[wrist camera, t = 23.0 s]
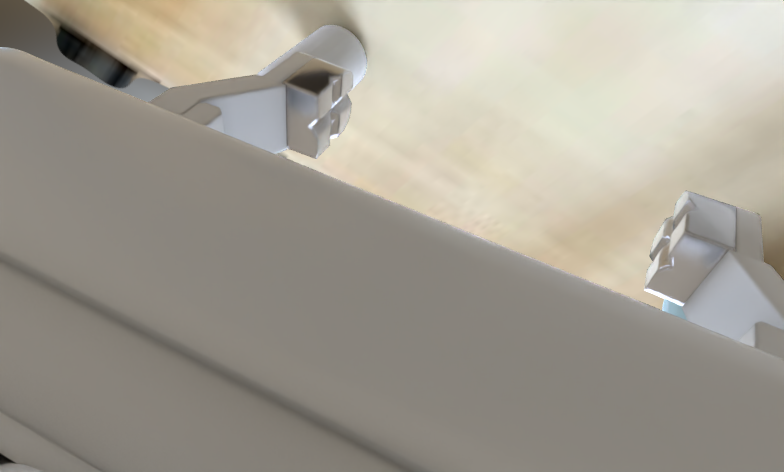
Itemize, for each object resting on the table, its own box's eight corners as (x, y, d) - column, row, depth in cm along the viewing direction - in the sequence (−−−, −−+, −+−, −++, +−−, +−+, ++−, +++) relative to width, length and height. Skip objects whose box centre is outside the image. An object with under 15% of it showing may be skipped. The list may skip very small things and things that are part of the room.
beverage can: (364, 93, 57) (304, 153, 50) (310, 68, 58) (242, 124, 50) (375, 37, 53) (311, 93, 45) (317, 11, 54) (243, 62, 46)
